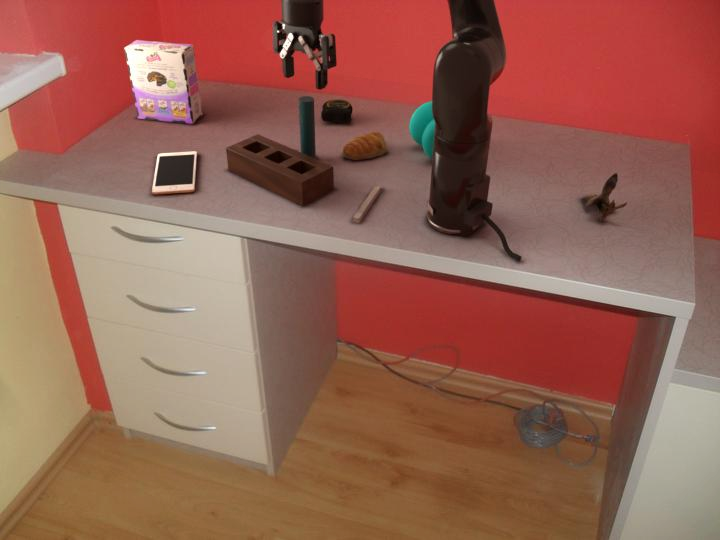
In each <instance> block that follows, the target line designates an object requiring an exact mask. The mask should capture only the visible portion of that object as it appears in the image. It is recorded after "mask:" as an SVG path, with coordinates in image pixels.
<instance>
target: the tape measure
mask: <svg viewBox="0 0 720 540" xmlns="http://www.w3.org/2000/svg"><path fill="white" fill-rule="evenodd" d="M352 115H353V105H352V104H351V102H349V101H348V100H345V99H339V98H338V99H330V100H327V101H325V102H324V103H323V104H322V108H321V112H320V119H321V120H322V121H323V122H326V123H327V122H328V123H335V124H338V123H351V122H352Z"/></svg>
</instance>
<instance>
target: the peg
mask: <svg viewBox="0 0 720 540" xmlns="http://www.w3.org/2000/svg"><path fill="white" fill-rule="evenodd" d="M298 117H299V118H298V119H299V141H300V143H299V145H300V152H301V153H303V154H306V155H308V156H310V157H313V158H315V159H317V157H316V156H317V154H316V153H317V152H316V149H317V148H316V121H315V98H314V97H313V96H311V95H310V96H309V95H303V96H300V97H298Z"/></svg>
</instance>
